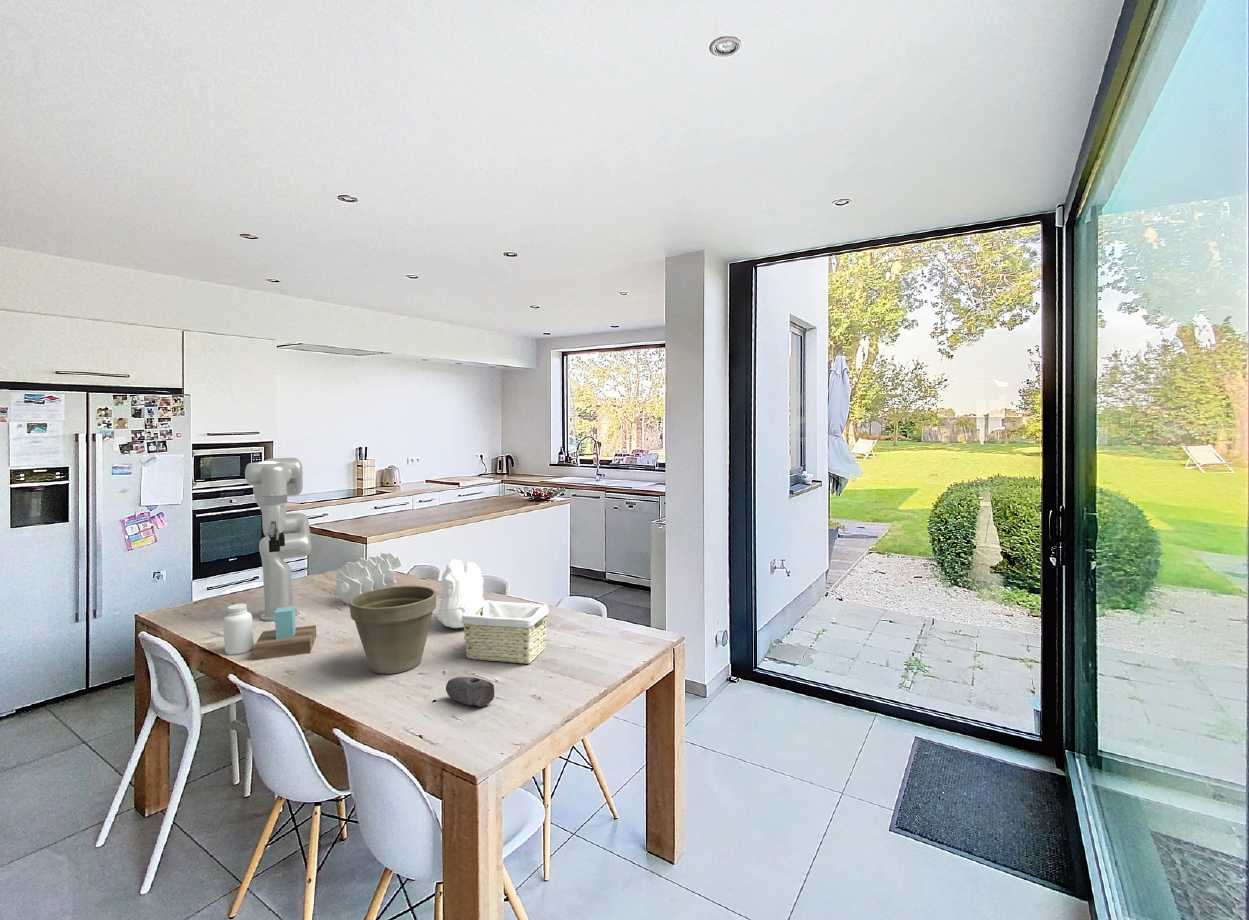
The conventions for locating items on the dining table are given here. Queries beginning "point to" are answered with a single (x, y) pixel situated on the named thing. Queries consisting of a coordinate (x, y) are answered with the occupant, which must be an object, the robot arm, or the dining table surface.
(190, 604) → the dining table surface
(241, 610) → the pill bottle
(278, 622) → the teal carton
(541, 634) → the storage basket
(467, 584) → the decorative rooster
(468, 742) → the dining table surface
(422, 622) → the plant pot
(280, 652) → the wavy brown panel
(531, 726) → the dining table surface
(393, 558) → the spiral staircase
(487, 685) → the perforated stone tool
